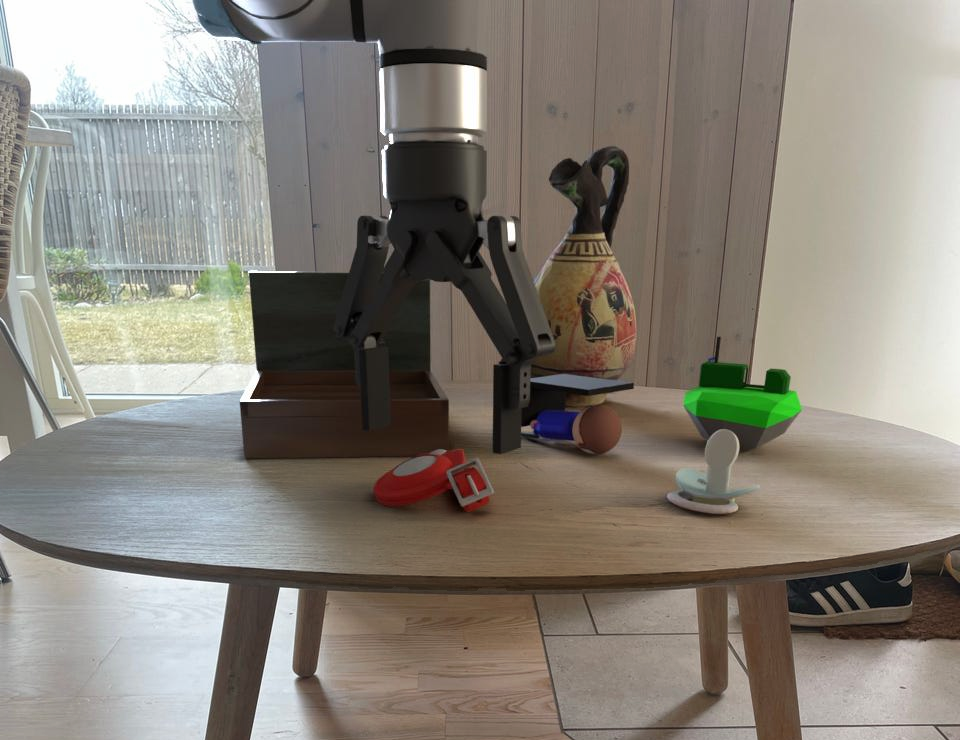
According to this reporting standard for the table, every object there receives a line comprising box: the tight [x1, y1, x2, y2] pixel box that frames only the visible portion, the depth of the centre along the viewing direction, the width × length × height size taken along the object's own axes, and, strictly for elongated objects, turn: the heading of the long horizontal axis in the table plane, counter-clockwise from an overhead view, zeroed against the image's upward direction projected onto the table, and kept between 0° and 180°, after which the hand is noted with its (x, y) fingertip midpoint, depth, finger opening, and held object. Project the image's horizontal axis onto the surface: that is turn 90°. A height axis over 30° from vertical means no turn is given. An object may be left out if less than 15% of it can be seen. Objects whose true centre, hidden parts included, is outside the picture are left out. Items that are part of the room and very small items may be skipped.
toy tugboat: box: [682, 336, 803, 453], centre depth 96 cm, size 12×12×11 cm
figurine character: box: [521, 374, 635, 455], centre depth 97 cm, size 7×8×15 cm
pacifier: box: [667, 429, 761, 515], centre depth 76 cm, size 7×6×6 cm
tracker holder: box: [373, 448, 495, 513], centre depth 77 cm, size 12×4×10 cm
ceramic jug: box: [531, 145, 638, 408], centre depth 117 cm, size 17×15×30 cm
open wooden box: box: [239, 270, 450, 460], centre depth 97 cm, size 21×20×16 cm
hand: (438, 439), depth 75 cm, fingers open, 13 cm apart
